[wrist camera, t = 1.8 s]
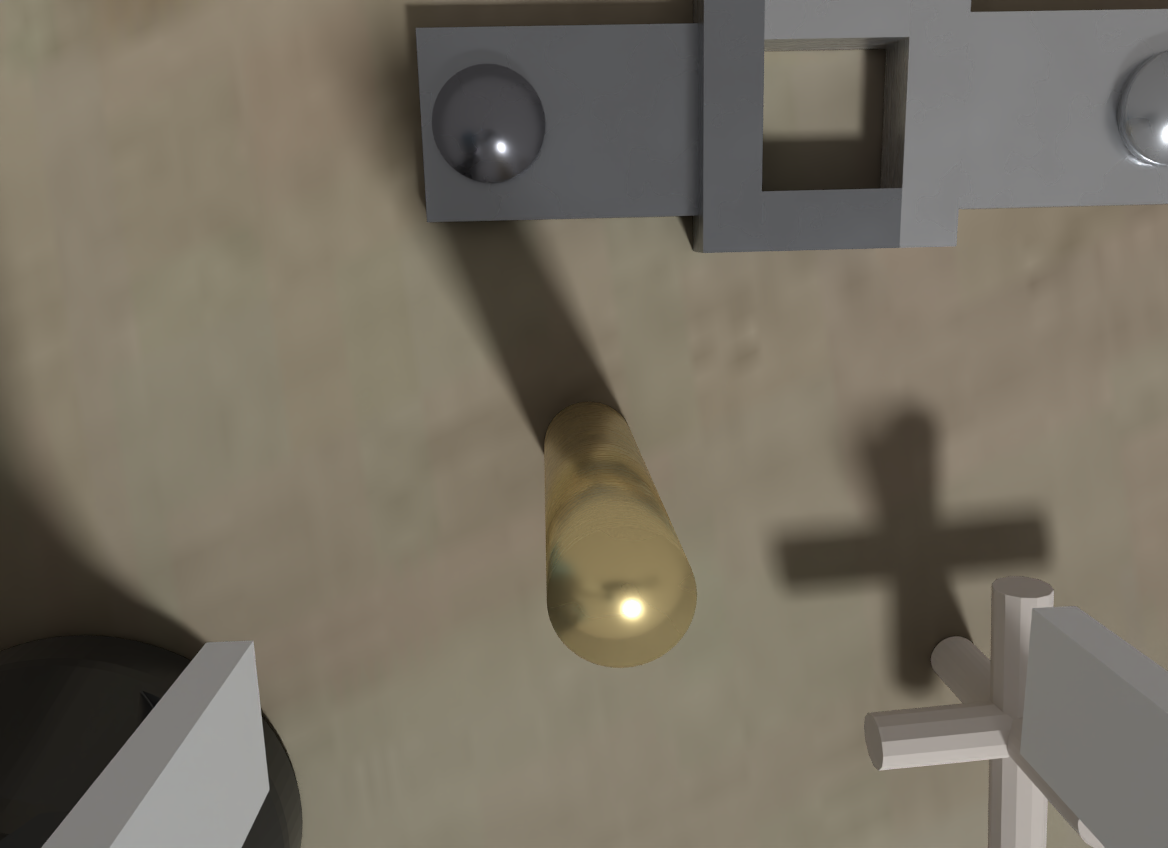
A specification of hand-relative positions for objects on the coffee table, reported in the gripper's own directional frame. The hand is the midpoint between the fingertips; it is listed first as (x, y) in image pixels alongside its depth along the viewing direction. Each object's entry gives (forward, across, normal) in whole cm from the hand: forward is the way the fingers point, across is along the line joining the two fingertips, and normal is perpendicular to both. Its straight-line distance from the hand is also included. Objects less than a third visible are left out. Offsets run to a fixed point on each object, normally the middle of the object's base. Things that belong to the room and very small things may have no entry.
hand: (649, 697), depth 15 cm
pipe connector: (+18, +14, -9) cm, 25 cm away
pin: (+18, 0, 0) cm, 18 cm away
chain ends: (+18, +8, +11) cm, 23 cm away
